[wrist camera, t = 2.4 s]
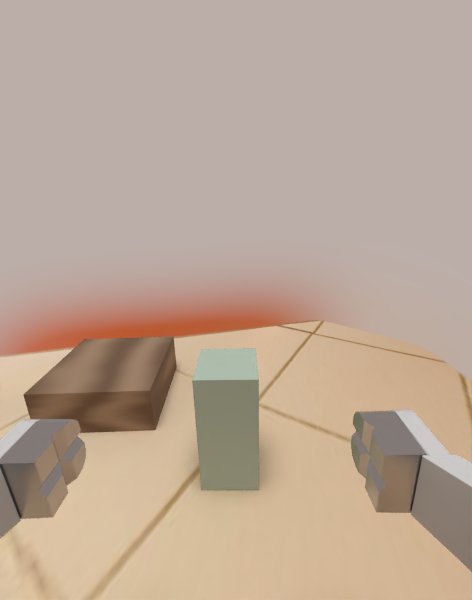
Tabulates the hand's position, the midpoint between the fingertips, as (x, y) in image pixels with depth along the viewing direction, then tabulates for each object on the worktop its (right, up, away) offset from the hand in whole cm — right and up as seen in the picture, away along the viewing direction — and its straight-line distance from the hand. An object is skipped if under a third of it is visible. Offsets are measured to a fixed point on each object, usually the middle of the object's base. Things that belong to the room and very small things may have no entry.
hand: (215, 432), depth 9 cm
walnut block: (-14, -8, +26) cm, 31 cm away
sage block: (0, -10, +16) cm, 19 cm away
